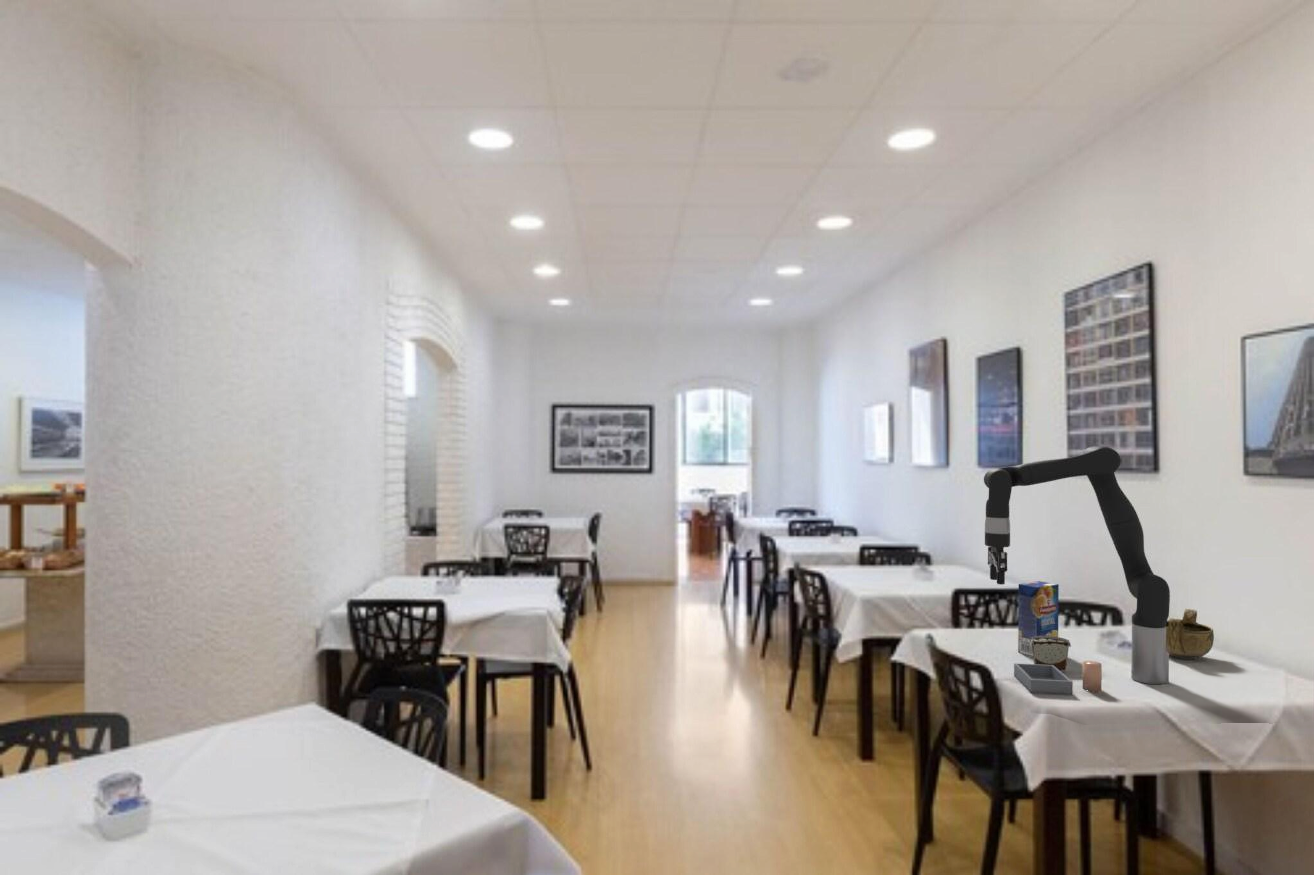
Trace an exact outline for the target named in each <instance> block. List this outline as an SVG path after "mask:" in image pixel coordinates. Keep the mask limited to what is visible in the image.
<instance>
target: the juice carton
mask: <svg viewBox="0 0 1314 875" xmlns="http://www.w3.org/2000/svg"><path fill="white" fill-rule="evenodd" d="M1059 587H1060V586H1059V583H1052V582H1046V581H1041V580H1038V581H1032V582H1031V581H1030V582H1025V583H1018V598H1017V599H1018V616H1017V618H1018V621H1017V622H1018V625H1017V626H1018V628H1017V630H1018V634H1017V635H1018V636H1017V638H1018V640H1017V643H1018V644H1017V647H1018V649H1017V651H1018V653H1021V654H1023V655H1027V656H1031V657H1034V655H1033V646H1031V645H1030V643H1031V639H1032V637H1035V636H1054V637H1059V592H1060V591H1059V590H1060V589H1059Z"/></svg>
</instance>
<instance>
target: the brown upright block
mask: <svg viewBox="0 0 1314 875" xmlns="http://www.w3.org/2000/svg"><path fill="white" fill-rule="evenodd" d="M1102 670H1103V669H1102V663H1101V662H1098V661H1096V660H1095V661H1094V660H1084V661H1082V690H1083V689H1084V691H1086V690H1088V691H1087V692H1089V691H1094V692H1093V693H1100V692H1099V691H1101V692H1102V680H1103V679H1102V676H1103V674H1102Z"/></svg>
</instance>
